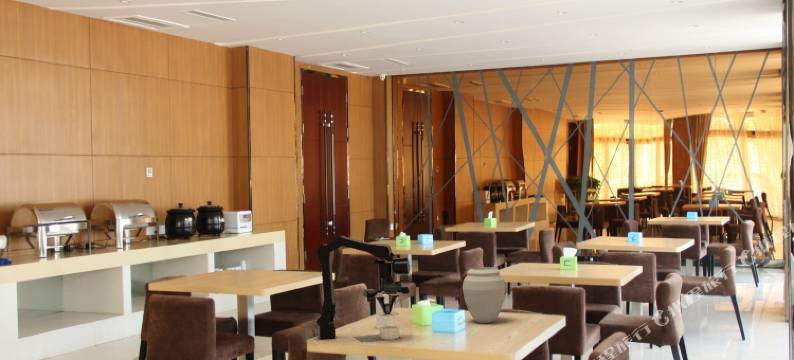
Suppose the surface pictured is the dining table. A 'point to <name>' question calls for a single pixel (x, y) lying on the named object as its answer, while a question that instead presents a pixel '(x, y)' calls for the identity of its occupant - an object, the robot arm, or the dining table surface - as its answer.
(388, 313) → the lid
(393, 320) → the cup
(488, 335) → the dining table surface
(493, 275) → the vase
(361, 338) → the placemat
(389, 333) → the bowl
